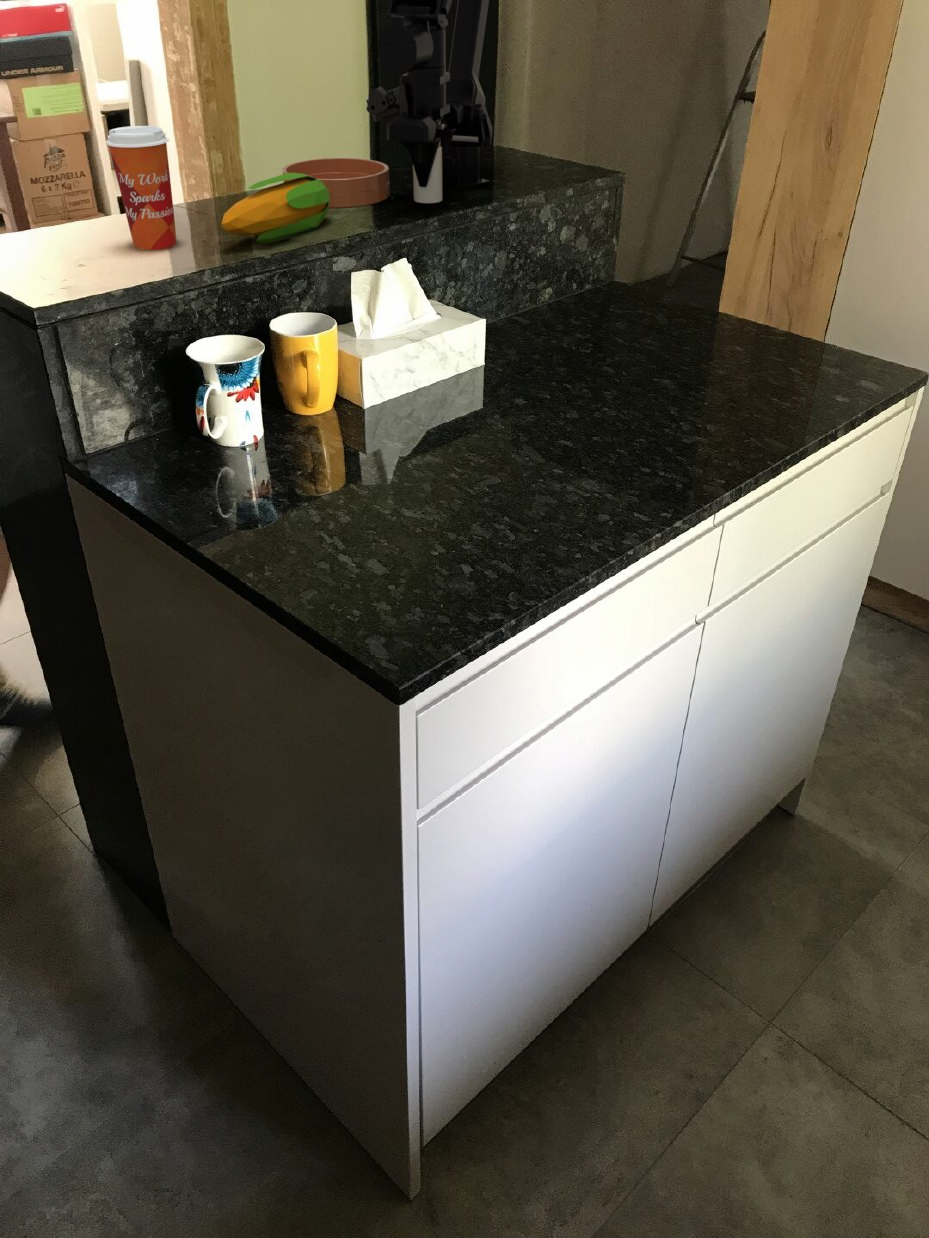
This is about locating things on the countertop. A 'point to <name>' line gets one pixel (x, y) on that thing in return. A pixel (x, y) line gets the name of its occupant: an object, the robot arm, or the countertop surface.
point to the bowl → (347, 179)
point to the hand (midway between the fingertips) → (427, 183)
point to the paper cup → (144, 184)
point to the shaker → (430, 182)
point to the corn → (279, 208)
